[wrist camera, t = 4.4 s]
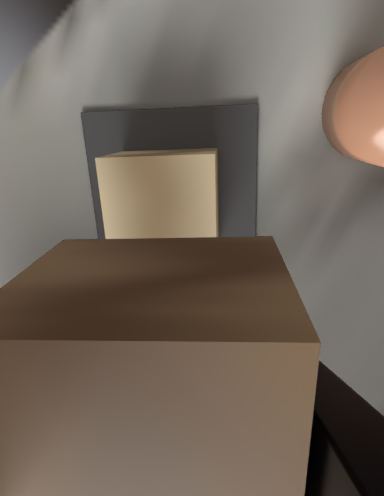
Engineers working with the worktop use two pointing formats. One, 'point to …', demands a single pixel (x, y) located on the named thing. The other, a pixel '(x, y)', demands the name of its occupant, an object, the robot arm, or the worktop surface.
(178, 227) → the maple cube
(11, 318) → the walnut cube
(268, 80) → the worktop surface
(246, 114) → the pad
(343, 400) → the robot arm
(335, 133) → the peach rounded piece
